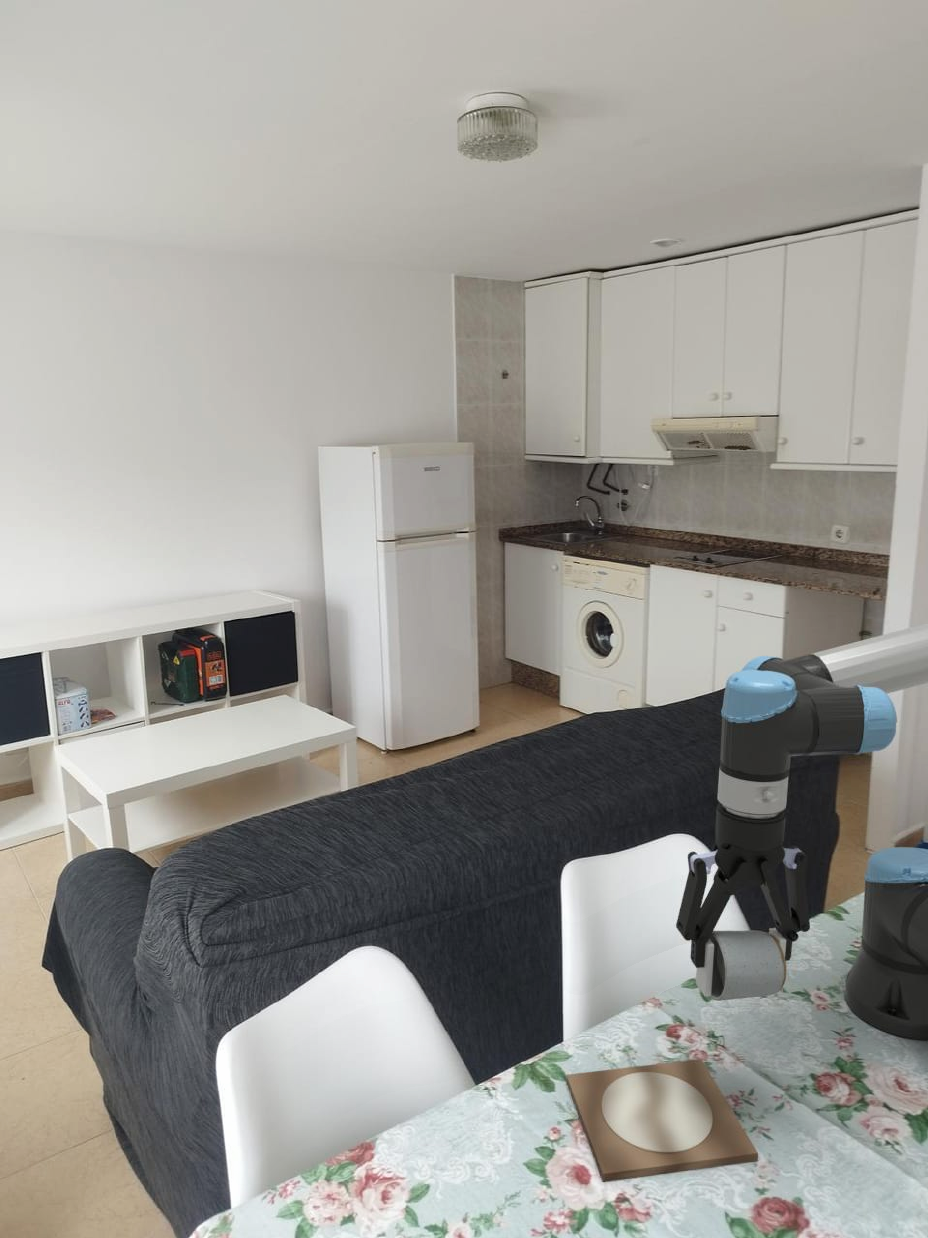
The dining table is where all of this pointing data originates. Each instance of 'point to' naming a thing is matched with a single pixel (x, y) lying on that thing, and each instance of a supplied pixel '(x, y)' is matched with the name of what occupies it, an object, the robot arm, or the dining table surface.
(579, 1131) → the dining table surface
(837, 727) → the robot arm
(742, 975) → the ceramic mug
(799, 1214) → the dining table surface
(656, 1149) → the board
